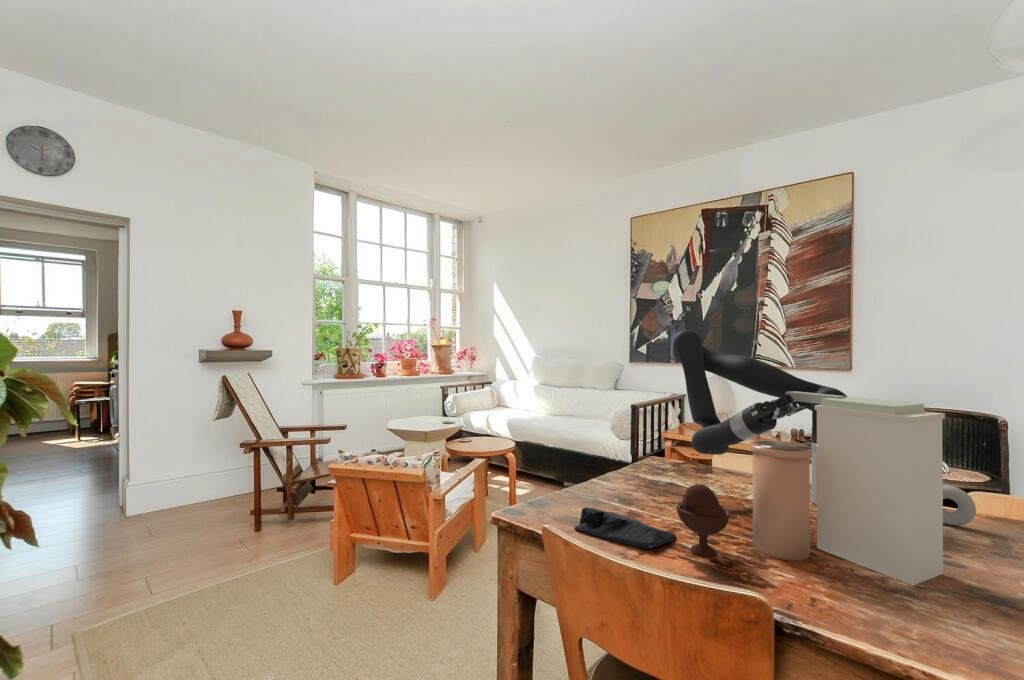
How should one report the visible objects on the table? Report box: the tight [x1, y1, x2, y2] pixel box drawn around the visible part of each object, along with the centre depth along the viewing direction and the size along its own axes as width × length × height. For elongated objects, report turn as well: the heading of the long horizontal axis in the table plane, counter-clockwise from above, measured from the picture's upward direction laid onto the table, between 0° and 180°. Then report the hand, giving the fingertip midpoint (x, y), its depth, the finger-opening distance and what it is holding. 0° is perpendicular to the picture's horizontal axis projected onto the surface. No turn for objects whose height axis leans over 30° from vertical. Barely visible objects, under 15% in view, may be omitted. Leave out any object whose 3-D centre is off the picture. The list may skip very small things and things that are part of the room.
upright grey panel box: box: [815, 405, 946, 586], centre depth 100 cm, size 12×19×32 cm, turn 25°
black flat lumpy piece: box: [573, 506, 677, 550], centre depth 114 cm, size 15×22×5 cm
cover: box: [786, 391, 925, 415], centre depth 106 cm, size 11×25×2 cm, turn 25°
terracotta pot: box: [749, 439, 812, 561], centre depth 105 cm, size 12×12×23 cm
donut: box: [943, 484, 977, 527], centre depth 120 cm, size 10×3×10 cm, turn 40°
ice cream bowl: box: [676, 483, 731, 559], centre depth 103 cm, size 11×11×15 cm
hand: (803, 396), depth 114 cm, fingers open, 8 cm apart
